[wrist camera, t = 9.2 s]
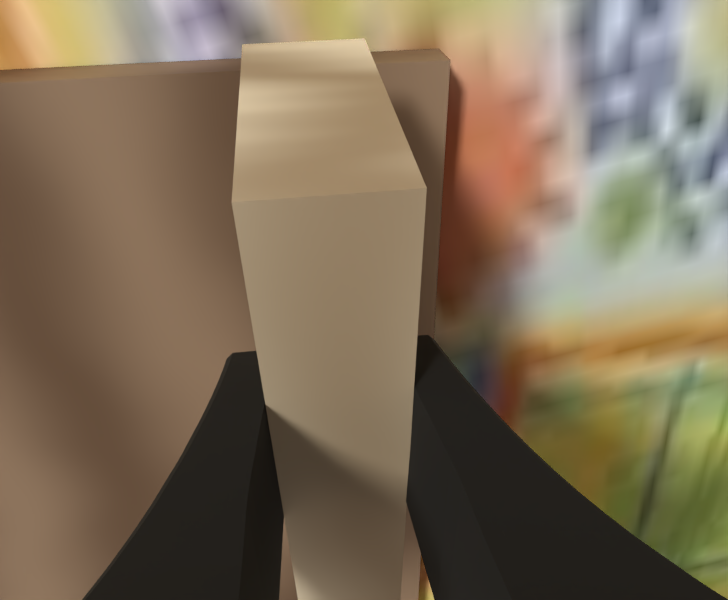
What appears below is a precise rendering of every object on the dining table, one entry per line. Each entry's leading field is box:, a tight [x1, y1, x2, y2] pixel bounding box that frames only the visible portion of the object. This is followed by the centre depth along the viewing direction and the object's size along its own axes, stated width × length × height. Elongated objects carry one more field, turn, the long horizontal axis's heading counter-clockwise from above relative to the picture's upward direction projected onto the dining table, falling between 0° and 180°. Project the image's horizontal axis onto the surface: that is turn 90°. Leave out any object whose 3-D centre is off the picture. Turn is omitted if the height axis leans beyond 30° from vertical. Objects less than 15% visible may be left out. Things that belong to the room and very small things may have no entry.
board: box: [0, 49, 450, 600], centre depth 20 cm, size 20×28×1 cm
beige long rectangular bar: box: [232, 38, 427, 600], centre depth 12 cm, size 2×11×5 cm, turn 1°
